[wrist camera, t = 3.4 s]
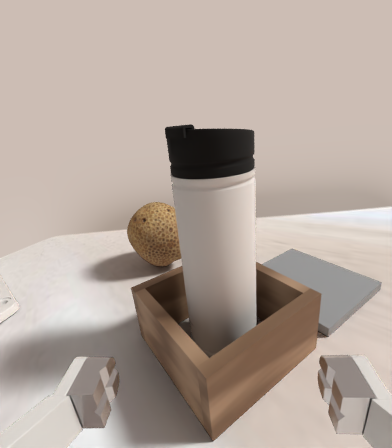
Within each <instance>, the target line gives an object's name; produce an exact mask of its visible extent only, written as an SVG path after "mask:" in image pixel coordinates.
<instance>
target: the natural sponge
mask: <svg viewBox="0 0 392 448" xmlns="http://www.w3.org/2000/svg"><path fill="white" fill-rule="evenodd" d="M127 234H128V239H129V241H130V243H131V245H132V247H133V248H134V249H135V251H136V252H137V253H138V254H139V255H140V256H141V257H142V258H143V259H144V260H145V261H147V262H149V263H150V264H152V265H155V266H167V265H169V264H171V263H172V262H174V261H176V260H178V259H181V251H180V244H179V236H178V228H177V221H176V213H175V208H174V207H171V206H169V205H167V204H164V203H160V202H153V203H149V204H146V205H145V206H143V207H142V208H140V209H139V210H138V211H137V212H136V213H135V214H134V215H133V217H132V218H131V220H130V222H129V225H128V229H127Z"/></svg>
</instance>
